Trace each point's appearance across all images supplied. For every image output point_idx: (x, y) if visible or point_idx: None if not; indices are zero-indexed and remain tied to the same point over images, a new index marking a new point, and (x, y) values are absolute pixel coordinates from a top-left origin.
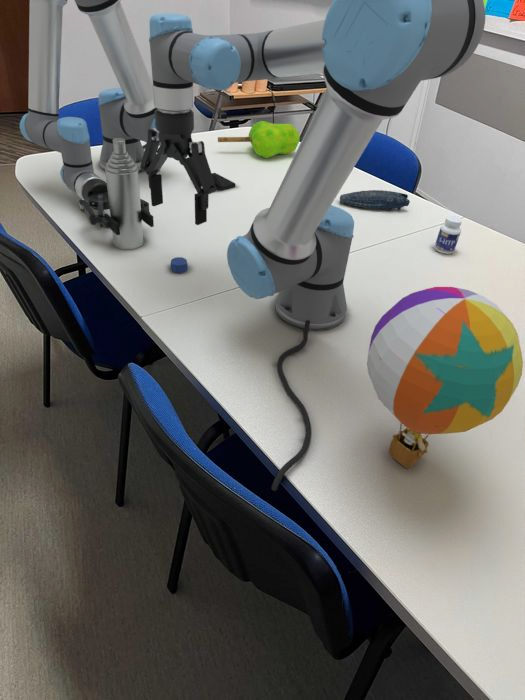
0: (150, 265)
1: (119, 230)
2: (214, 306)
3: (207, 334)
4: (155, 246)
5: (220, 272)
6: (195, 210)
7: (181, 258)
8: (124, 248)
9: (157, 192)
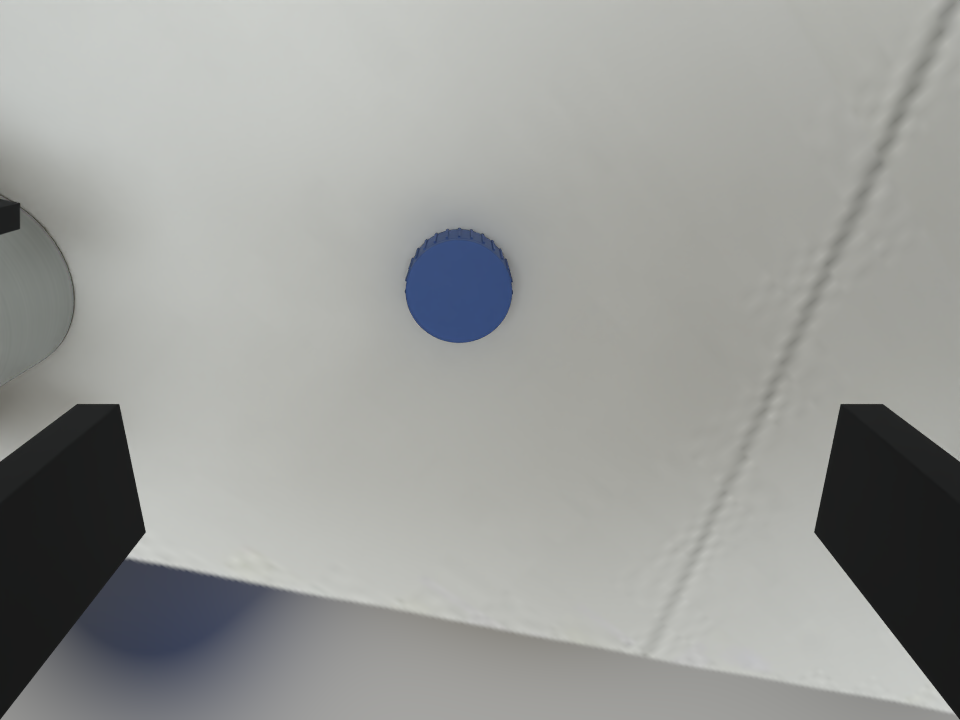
0: (312, 368)
1: None
2: None
3: None
4: (117, 183)
5: (678, 111)
6: (922, 655)
7: (444, 256)
8: (44, 358)
9: (40, 574)
